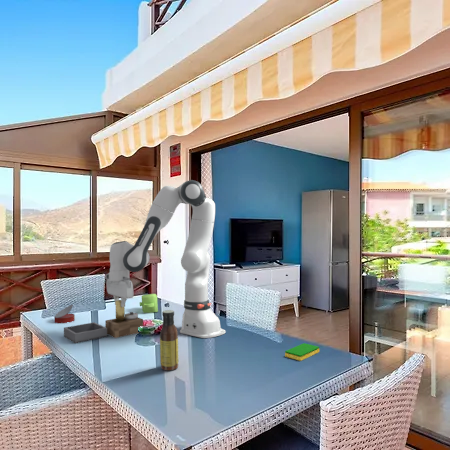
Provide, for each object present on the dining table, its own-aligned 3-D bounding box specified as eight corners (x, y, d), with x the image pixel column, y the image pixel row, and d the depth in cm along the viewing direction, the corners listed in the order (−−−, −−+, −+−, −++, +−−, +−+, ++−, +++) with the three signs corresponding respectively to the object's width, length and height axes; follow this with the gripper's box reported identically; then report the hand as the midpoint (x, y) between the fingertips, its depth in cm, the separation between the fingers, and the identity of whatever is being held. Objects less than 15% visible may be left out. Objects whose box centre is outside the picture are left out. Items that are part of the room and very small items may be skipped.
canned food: (70, 331, 188) (68, 316, 184) (51, 329, 189) (48, 314, 184) (79, 316, 199) (77, 302, 194) (61, 314, 199) (59, 300, 194)
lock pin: (126, 322, 167) (126, 300, 168) (118, 323, 165) (117, 302, 165) (122, 320, 170) (122, 299, 171) (114, 322, 168) (114, 300, 168)
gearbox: (139, 309, 222) (138, 293, 222) (155, 307, 225) (154, 292, 225) (140, 315, 205) (140, 298, 205) (158, 313, 208) (157, 296, 208)
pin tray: (106, 336, 162) (106, 328, 162) (75, 343, 153) (75, 334, 153) (94, 330, 173) (94, 322, 173) (63, 336, 163) (63, 327, 163)
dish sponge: (284, 357, 137) (284, 350, 137) (304, 348, 147) (304, 342, 147) (300, 362, 132) (300, 355, 132) (319, 352, 142) (319, 346, 142)
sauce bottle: (170, 363, 130) (170, 308, 130) (182, 367, 126) (182, 310, 126) (156, 368, 125) (156, 311, 125) (168, 373, 121) (168, 313, 121)
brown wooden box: (143, 331, 170) (143, 312, 170) (115, 337, 161) (115, 317, 161) (132, 327, 178) (132, 309, 178) (105, 333, 168) (105, 313, 168)
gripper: (136, 277, 162) (137, 308, 162) (116, 273, 178) (116, 301, 177) (123, 278, 158) (124, 310, 158) (103, 275, 173) (104, 303, 173)
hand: (120, 305), depth 168 cm, fingers closed on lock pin, 4 cm apart
